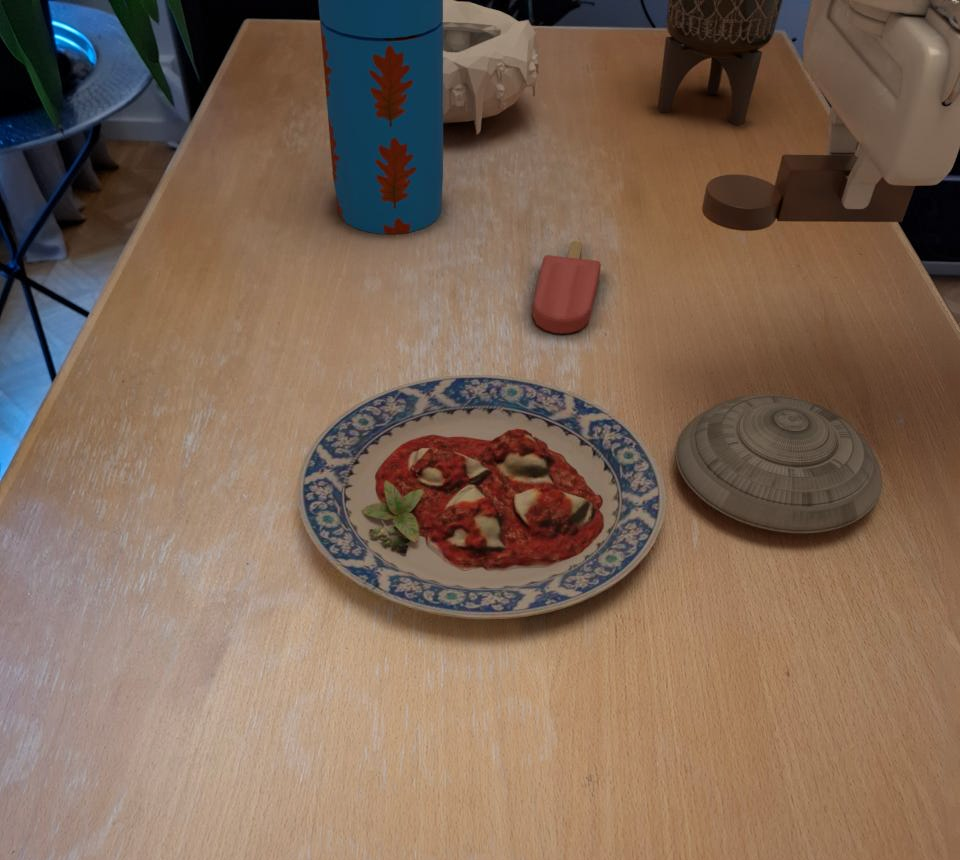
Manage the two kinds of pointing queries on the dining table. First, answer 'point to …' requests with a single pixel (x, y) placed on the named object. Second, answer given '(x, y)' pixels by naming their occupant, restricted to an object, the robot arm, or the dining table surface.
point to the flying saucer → (779, 464)
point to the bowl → (484, 61)
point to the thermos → (385, 110)
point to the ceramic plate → (481, 496)
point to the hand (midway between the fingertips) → (843, 191)
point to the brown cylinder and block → (799, 196)
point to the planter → (717, 46)
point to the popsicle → (565, 291)
